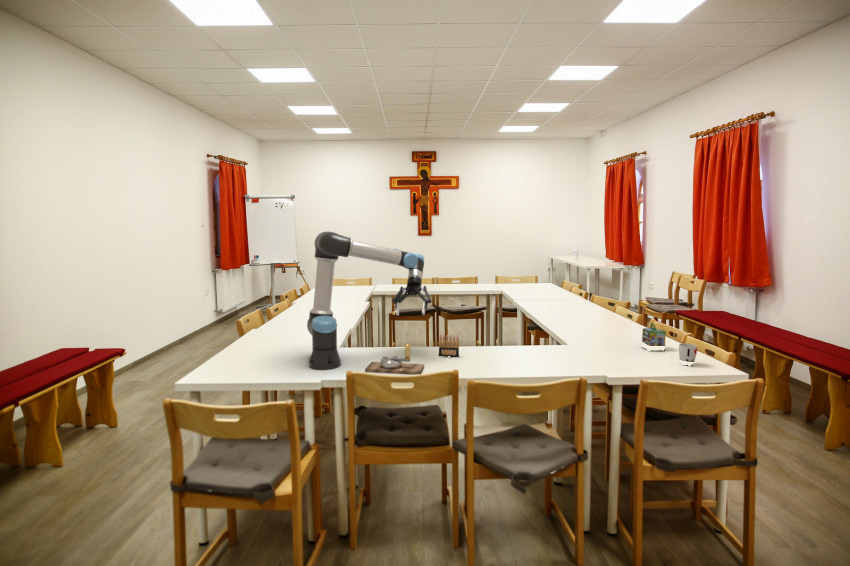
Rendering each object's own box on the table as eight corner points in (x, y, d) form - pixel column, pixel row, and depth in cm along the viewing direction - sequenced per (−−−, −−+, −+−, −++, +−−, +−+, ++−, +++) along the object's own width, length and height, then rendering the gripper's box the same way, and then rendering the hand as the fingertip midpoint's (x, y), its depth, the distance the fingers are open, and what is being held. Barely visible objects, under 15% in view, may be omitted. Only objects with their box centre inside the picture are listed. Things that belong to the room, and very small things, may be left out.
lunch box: (665, 351, 263) (667, 325, 261) (648, 351, 262) (650, 325, 261) (656, 347, 272) (658, 322, 270) (640, 347, 272) (642, 322, 270)
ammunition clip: (438, 356, 248) (438, 334, 247) (438, 355, 250) (439, 333, 249) (458, 357, 247) (459, 335, 245) (459, 356, 249) (459, 334, 247)
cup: (685, 367, 233) (686, 347, 232) (673, 362, 241) (675, 343, 240) (699, 366, 234) (701, 347, 233) (688, 362, 242) (689, 343, 241)
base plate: (365, 372, 221) (364, 368, 221) (371, 364, 233) (371, 361, 233) (420, 375, 217) (420, 371, 217) (424, 367, 229) (424, 364, 229)
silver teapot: (378, 368, 221) (378, 345, 220) (383, 362, 231) (383, 340, 230) (408, 370, 219) (408, 347, 218) (411, 363, 229) (412, 342, 228)
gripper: (439, 283, 251) (435, 317, 239) (393, 284, 257) (388, 318, 245) (436, 274, 245) (433, 309, 233) (390, 276, 251) (384, 310, 239)
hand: (410, 314), depth 239 cm, fingers open, 13 cm apart
